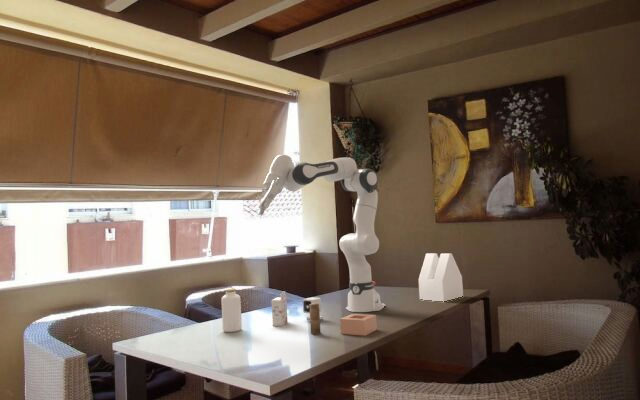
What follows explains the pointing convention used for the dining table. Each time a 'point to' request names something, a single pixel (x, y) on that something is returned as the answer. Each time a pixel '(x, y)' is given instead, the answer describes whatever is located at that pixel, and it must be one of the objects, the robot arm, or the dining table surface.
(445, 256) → the white notched block
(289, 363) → the dining table surface
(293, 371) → the dining table surface
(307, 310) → the security camera
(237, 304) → the potion bottle
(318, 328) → the dowel
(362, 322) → the socket block
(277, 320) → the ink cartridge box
